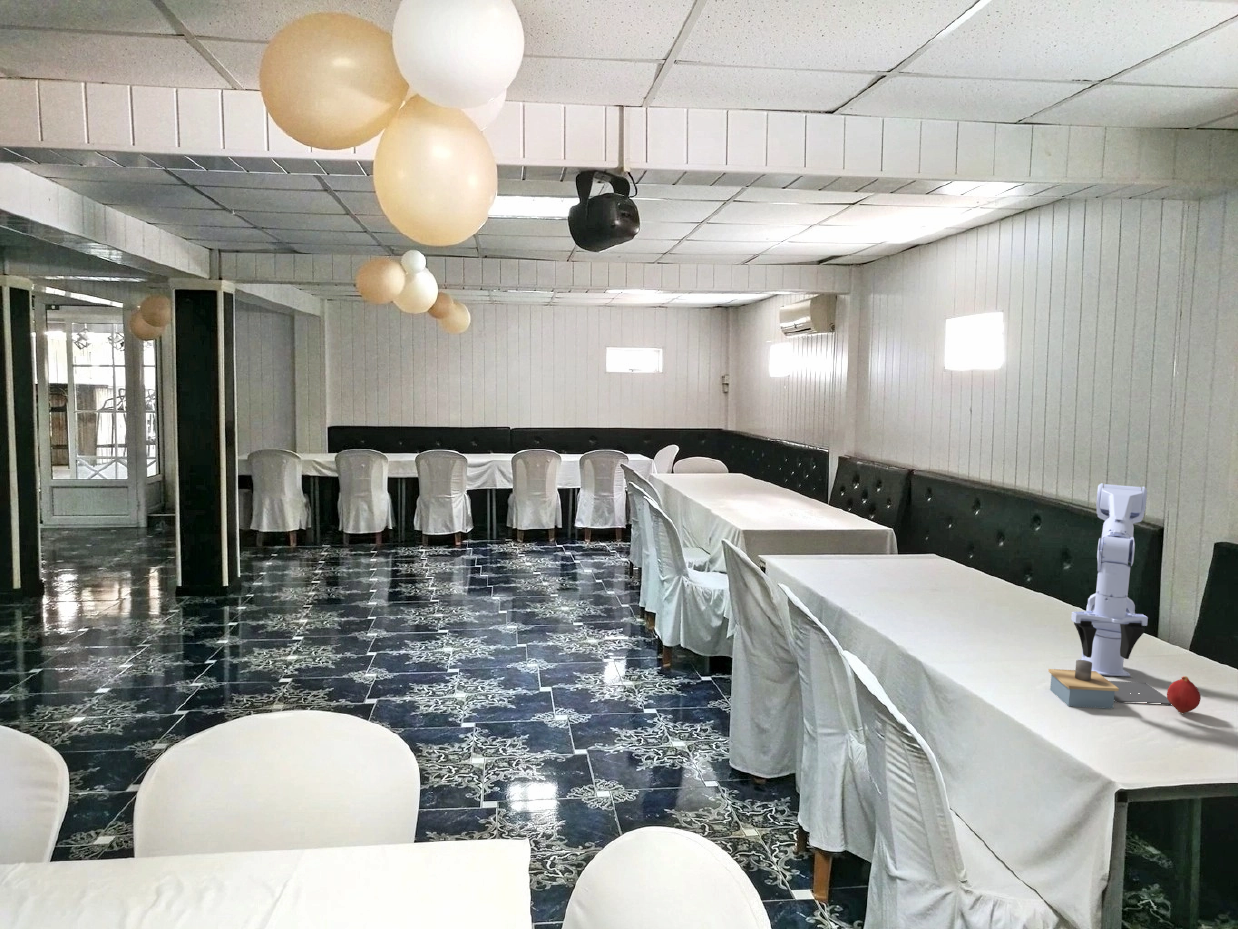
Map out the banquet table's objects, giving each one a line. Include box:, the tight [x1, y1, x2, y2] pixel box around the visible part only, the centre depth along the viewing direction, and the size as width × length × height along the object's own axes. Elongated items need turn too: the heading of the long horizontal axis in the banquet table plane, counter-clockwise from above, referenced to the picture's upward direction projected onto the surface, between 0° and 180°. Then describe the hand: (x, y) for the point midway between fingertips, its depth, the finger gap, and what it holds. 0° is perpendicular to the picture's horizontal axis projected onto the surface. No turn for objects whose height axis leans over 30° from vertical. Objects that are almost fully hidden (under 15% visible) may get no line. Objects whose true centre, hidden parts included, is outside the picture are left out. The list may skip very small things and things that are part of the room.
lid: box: [1048, 659, 1119, 691], centre depth 182 cm, size 10×10×4 cm
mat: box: [1108, 680, 1171, 704], centre depth 187 cm, size 12×12×1 cm
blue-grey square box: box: [1049, 673, 1115, 709], centre depth 182 cm, size 9×9×4 cm
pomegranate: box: [1166, 675, 1201, 714], centre depth 176 cm, size 6×6×8 cm
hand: (1105, 656), depth 179 cm, fingers open, 7 cm apart
